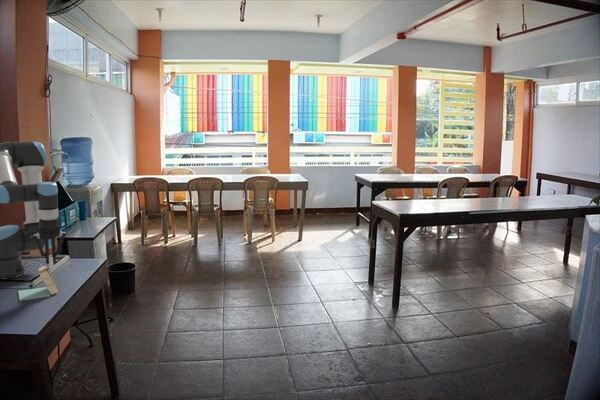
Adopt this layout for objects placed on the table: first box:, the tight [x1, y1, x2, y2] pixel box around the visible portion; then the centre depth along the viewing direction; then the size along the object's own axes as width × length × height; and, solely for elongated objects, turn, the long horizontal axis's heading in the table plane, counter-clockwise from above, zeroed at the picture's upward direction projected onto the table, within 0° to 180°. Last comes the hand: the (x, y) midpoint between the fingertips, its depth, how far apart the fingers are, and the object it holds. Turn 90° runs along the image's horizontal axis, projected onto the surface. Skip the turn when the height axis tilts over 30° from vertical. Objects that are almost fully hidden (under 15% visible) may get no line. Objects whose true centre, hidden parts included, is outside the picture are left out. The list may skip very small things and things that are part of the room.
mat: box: [18, 286, 51, 302], centre depth 205 cm, size 11×12×1 cm
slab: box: [38, 265, 59, 296], centre depth 207 cm, size 8×3×11 cm, turn 32°
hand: (51, 270), depth 208 cm, fingers closed
